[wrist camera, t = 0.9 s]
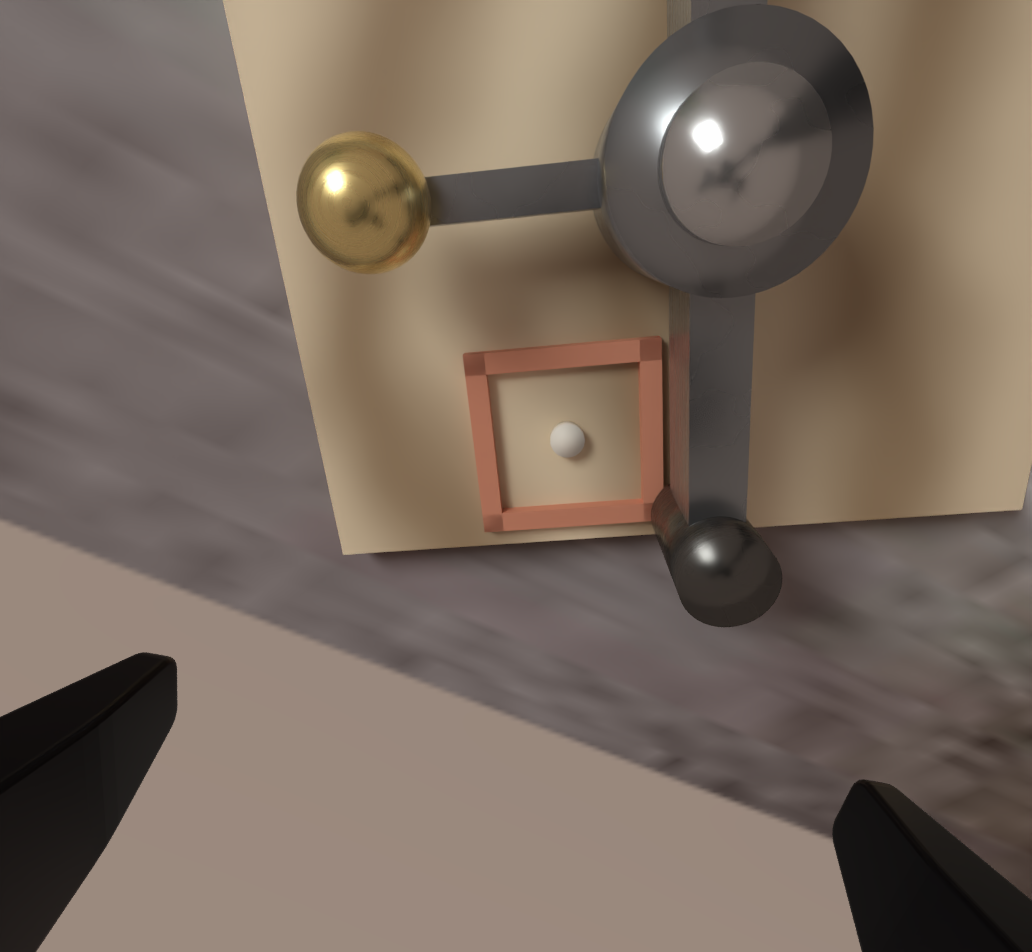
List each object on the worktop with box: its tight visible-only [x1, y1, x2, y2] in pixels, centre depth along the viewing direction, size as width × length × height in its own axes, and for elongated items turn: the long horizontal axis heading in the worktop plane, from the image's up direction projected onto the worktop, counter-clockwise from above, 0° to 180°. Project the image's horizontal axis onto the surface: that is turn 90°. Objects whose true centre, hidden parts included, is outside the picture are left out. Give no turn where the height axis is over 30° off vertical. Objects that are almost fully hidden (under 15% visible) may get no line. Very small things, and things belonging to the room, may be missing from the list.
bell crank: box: [296, 0, 874, 627], centre depth 14 cm, size 11×20×5 cm, turn 5°
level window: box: [463, 336, 663, 532], centre depth 18 cm, size 6×6×1 cm
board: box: [223, 0, 1032, 555], centre depth 17 cm, size 21×20×1 cm
